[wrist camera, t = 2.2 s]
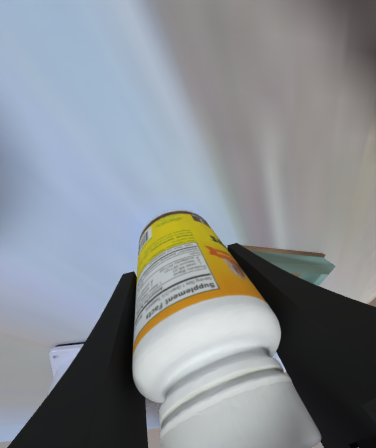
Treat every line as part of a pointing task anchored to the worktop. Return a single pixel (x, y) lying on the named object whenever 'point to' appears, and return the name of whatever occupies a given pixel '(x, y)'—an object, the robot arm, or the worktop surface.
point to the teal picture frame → (297, 262)
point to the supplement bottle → (209, 345)
